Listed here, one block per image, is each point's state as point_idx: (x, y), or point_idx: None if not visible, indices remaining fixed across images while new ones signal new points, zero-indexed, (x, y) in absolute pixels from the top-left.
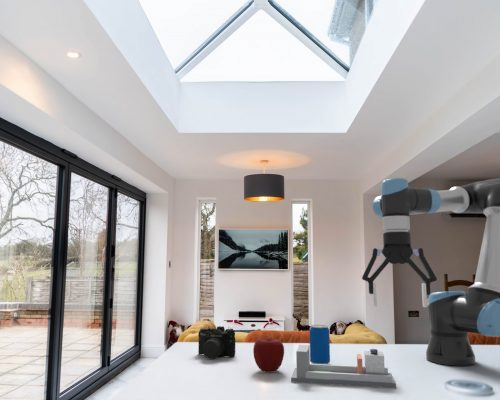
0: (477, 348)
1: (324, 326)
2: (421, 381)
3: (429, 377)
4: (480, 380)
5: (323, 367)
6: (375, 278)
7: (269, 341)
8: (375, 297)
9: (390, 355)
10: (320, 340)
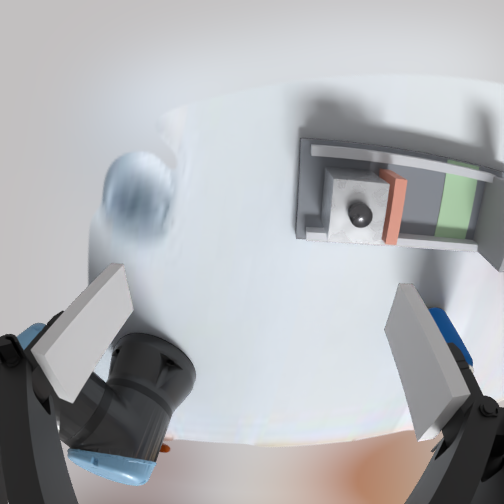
0: None
1: None
2: (227, 208)
3: (204, 246)
4: (110, 239)
5: (452, 240)
6: (463, 432)
7: None
8: (421, 315)
9: (262, 395)
10: (451, 341)
